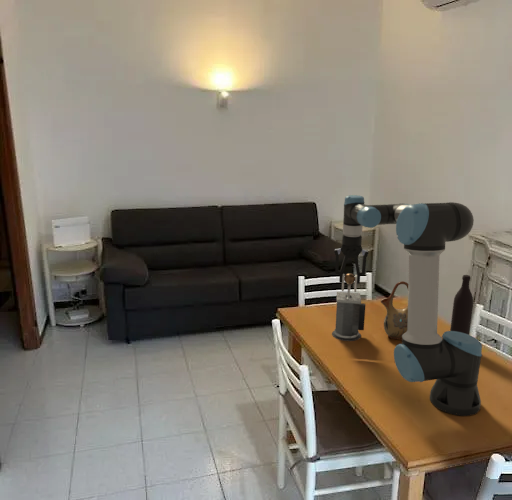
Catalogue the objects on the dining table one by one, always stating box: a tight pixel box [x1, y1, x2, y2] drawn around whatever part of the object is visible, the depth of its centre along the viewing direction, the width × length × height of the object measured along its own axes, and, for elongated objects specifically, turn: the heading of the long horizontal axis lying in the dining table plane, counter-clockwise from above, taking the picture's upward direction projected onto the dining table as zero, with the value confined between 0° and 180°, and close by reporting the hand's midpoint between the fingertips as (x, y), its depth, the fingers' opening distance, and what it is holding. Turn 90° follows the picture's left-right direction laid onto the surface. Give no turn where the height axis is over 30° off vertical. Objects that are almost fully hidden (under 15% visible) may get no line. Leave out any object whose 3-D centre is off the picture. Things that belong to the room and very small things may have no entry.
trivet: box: [331, 330, 362, 342], centre depth 206 cm, size 12×12×1 cm
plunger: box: [344, 272, 355, 298], centre depth 202 cm, size 7×7×24 cm
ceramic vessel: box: [380, 281, 408, 341], centre depth 201 cm, size 16×9×25 cm, turn 90°
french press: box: [333, 291, 366, 340], centre depth 203 cm, size 10×12×17 cm
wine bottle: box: [449, 274, 474, 335], centre depth 193 cm, size 7×7×30 cm
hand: (348, 290), depth 201 cm, fingers closed on plunger, 4 cm apart
